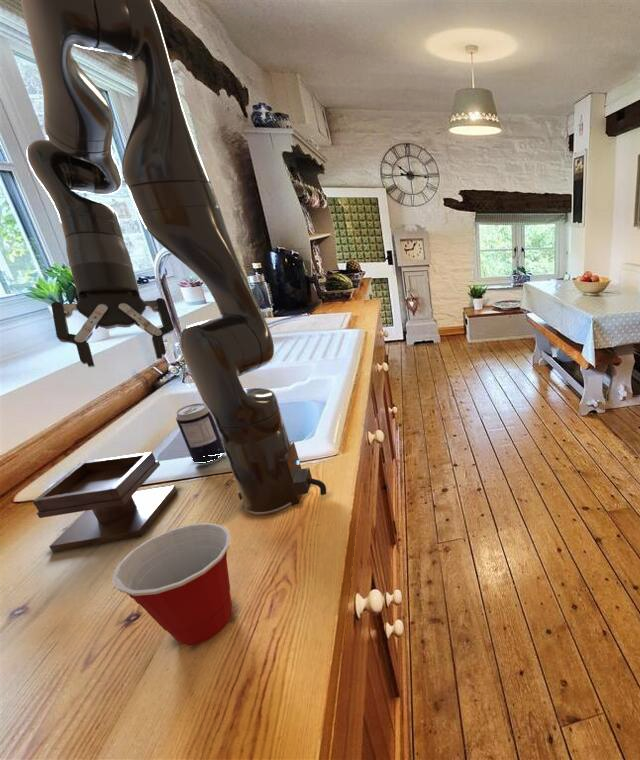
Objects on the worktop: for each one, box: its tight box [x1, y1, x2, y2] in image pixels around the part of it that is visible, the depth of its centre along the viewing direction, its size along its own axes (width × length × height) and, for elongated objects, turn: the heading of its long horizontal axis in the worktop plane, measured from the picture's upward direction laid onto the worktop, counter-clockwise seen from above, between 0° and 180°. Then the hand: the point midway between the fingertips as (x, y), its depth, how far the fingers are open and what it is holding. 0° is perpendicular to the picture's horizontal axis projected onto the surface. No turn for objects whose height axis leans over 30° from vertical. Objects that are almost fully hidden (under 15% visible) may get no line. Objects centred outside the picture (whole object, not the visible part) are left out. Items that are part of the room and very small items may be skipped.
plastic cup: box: [111, 522, 233, 647], centre depth 49 cm, size 11×11×12 cm
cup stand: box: [32, 451, 178, 553], centre depth 68 cm, size 12×12×9 cm
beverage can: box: [175, 402, 226, 466], centre depth 84 cm, size 6×6×12 cm
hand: (127, 362), depth 69 cm, fingers open, 8 cm apart
